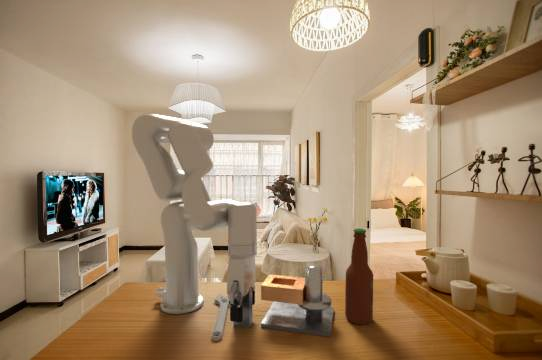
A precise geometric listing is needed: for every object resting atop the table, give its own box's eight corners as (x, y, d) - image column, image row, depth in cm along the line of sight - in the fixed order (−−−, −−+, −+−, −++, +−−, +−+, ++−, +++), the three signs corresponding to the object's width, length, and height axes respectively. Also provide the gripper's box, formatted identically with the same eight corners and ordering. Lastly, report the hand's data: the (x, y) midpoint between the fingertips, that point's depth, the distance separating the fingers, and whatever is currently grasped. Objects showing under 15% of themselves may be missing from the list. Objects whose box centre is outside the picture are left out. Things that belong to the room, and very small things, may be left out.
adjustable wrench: (221, 343, 72) (221, 336, 72) (195, 342, 72) (195, 335, 72) (237, 296, 97) (237, 291, 97) (218, 296, 97) (218, 291, 97)
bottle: (378, 321, 81) (379, 230, 80) (359, 328, 77) (360, 233, 76) (358, 310, 87) (359, 225, 86) (339, 316, 84) (340, 228, 83)
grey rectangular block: (233, 325, 79) (233, 285, 78) (236, 321, 81) (236, 281, 81) (249, 328, 78) (249, 286, 77) (252, 323, 80) (252, 283, 80)
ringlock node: (258, 326, 78) (257, 270, 78) (271, 303, 92) (271, 255, 91) (330, 337, 74) (330, 277, 73) (333, 310, 87) (334, 260, 86)
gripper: (241, 240, 88) (241, 297, 89) (215, 257, 71) (216, 327, 72) (265, 241, 86) (265, 299, 87) (244, 259, 69) (245, 331, 70)
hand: (243, 312), depth 79 cm, fingers open, 9 cm apart
